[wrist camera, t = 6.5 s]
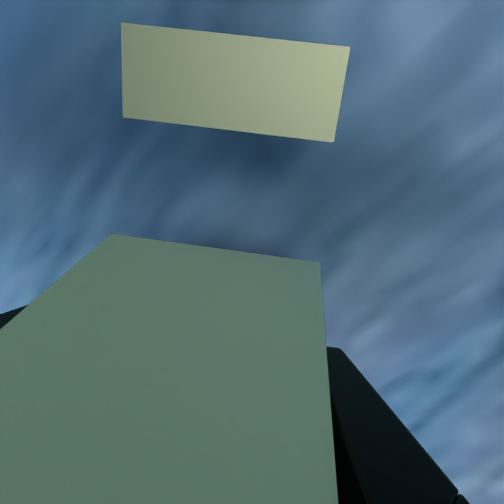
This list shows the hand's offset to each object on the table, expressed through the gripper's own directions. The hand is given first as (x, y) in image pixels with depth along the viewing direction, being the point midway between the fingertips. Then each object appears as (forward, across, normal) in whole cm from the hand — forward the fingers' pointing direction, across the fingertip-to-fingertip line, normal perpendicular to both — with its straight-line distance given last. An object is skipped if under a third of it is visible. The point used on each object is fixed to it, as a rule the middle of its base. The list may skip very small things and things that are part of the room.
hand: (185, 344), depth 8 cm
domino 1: (+12, 0, -4) cm, 12 cm away
